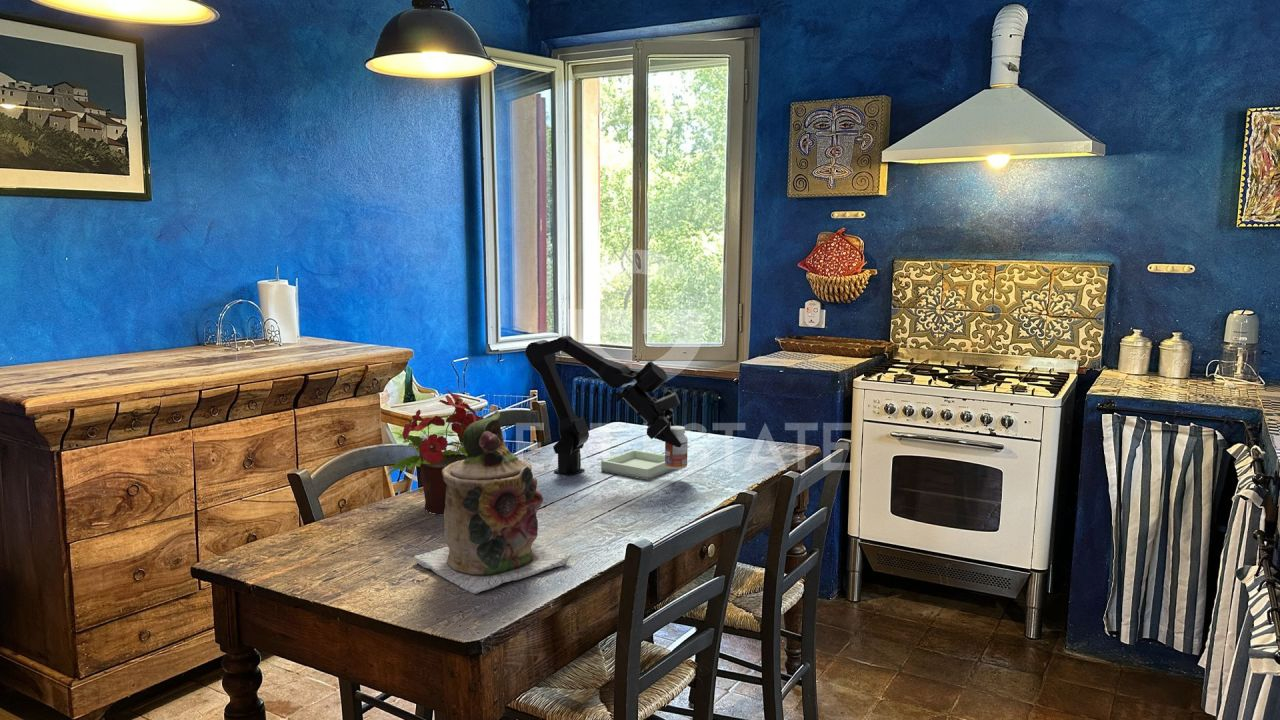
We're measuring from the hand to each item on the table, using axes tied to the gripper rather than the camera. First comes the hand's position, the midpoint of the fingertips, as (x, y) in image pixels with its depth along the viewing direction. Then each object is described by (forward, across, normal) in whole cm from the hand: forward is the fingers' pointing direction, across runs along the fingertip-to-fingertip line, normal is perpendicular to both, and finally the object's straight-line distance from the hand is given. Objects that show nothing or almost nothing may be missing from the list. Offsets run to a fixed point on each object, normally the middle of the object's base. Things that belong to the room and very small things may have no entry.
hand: (681, 443), depth 245 cm
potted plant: (-32, -27, +48) cm, 64 cm away
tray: (-1, +11, +16) cm, 20 cm away
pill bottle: (+4, 0, +6) cm, 7 cm away
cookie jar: (-17, -66, +32) cm, 75 cm away
